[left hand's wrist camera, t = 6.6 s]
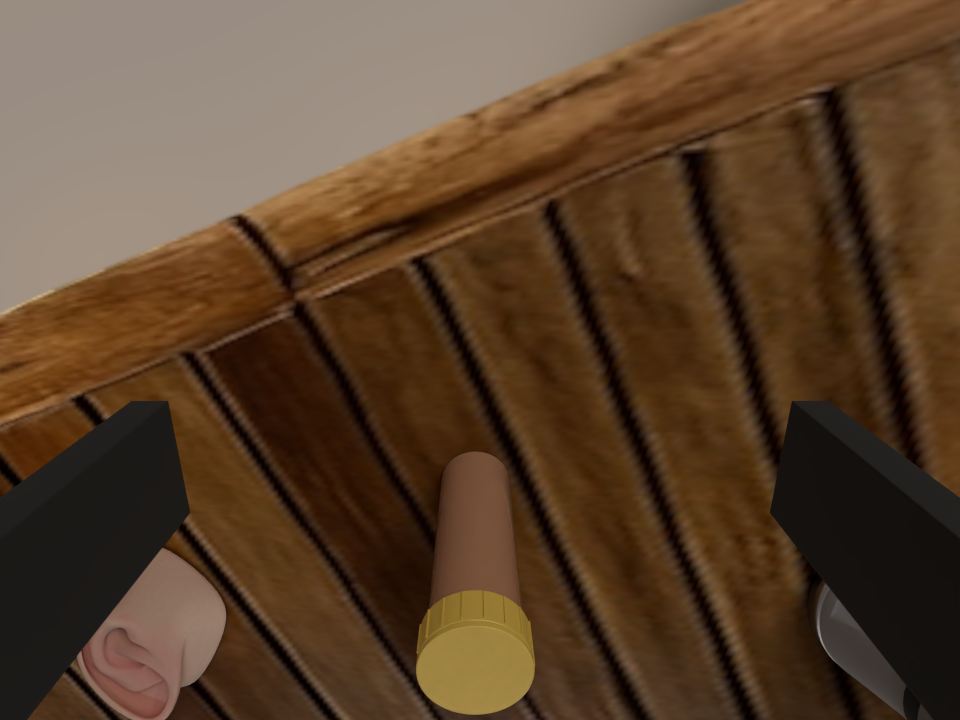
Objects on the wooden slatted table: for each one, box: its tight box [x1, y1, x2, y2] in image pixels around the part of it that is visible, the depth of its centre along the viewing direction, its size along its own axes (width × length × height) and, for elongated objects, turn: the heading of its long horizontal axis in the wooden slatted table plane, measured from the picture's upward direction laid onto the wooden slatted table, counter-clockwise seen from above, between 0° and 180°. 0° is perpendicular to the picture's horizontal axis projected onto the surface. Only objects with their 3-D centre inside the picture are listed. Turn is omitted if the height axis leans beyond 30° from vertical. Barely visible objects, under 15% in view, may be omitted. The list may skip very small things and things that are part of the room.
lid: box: [416, 590, 535, 715], centre depth 29 cm, size 6×6×2 cm
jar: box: [429, 452, 522, 610], centre depth 35 cm, size 5×5×16 cm
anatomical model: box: [77, 548, 226, 720], centre depth 45 cm, size 13×4×12 cm
